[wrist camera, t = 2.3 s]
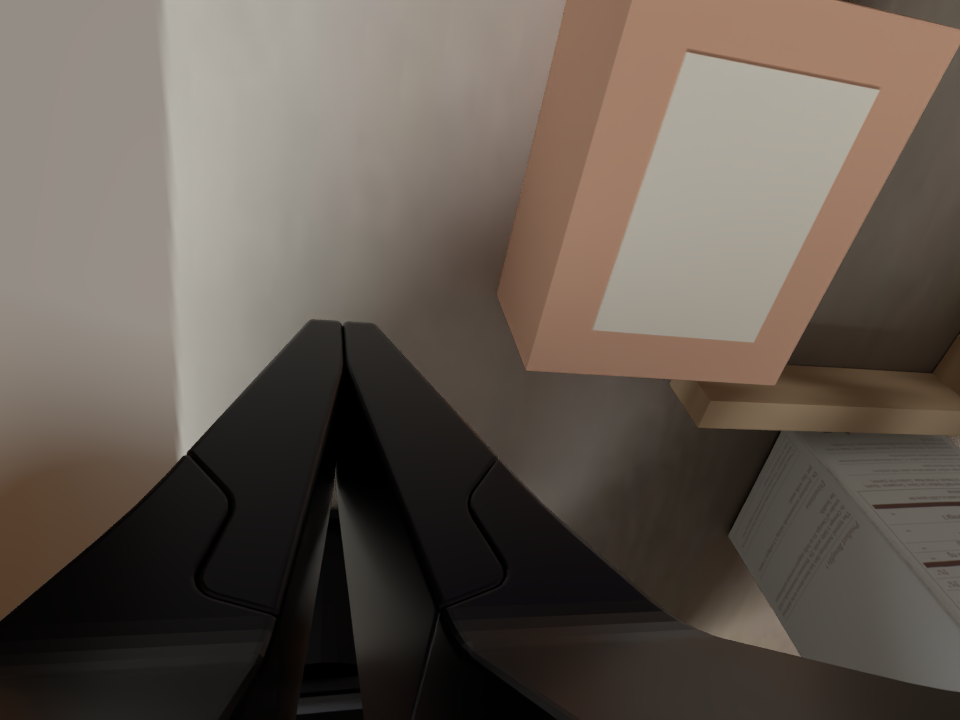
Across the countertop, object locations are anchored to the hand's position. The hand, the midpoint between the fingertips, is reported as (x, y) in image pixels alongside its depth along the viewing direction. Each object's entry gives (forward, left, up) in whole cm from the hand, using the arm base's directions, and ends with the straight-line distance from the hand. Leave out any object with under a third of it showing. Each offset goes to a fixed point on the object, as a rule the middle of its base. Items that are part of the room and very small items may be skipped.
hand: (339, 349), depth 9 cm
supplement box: (+23, -13, -11) cm, 28 cm away
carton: (+10, 0, -11) cm, 15 cm away
